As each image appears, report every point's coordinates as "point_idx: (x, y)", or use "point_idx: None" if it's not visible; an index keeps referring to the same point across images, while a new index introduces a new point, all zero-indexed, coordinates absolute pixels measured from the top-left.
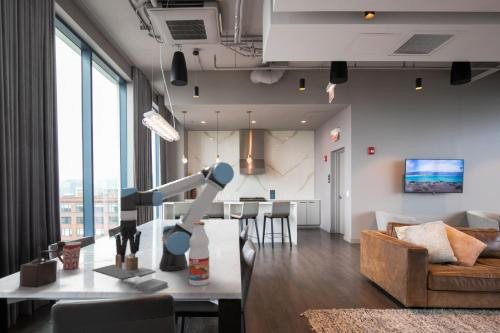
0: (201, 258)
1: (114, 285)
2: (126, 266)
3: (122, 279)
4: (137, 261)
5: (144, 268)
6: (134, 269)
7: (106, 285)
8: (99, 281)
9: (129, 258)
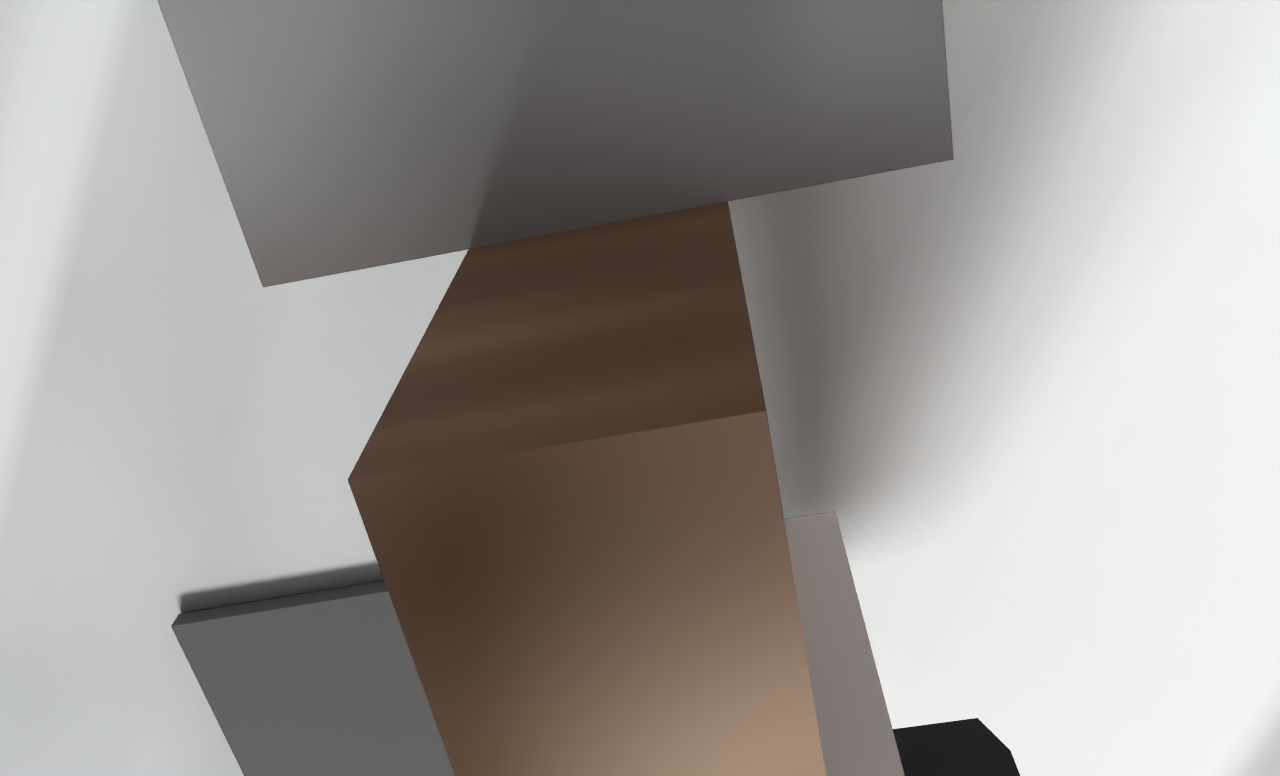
0: None
1: (1103, 262)
2: (797, 579)
3: None
4: (435, 370)
5: (241, 59)
6: (624, 219)
7: (1221, 399)
8: (1154, 740)
9: (805, 664)
